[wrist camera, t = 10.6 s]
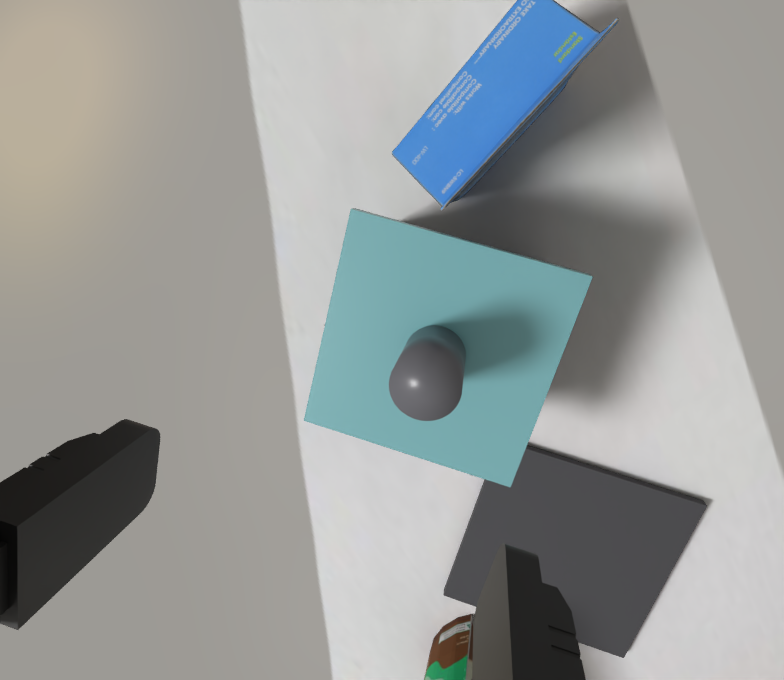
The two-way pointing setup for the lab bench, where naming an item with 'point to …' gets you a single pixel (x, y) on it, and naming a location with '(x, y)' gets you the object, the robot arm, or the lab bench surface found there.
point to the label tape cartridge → (496, 97)
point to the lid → (441, 345)
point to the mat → (581, 541)
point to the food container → (452, 651)
